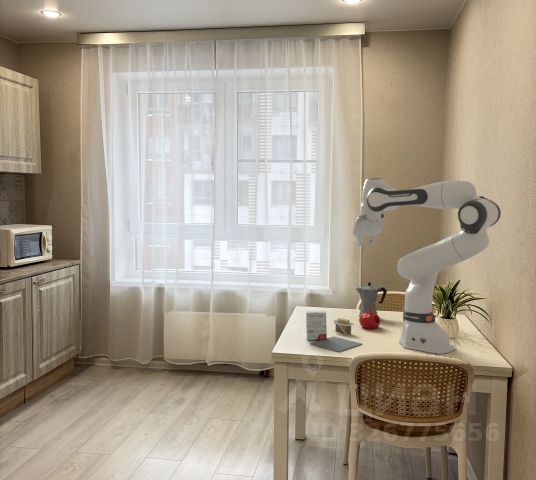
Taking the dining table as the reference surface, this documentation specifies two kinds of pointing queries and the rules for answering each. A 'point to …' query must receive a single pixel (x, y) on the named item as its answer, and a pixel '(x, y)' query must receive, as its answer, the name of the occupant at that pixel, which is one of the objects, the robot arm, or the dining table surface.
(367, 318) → the pomegranate
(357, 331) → the dining table surface
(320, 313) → the ink box
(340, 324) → the rectangular planter
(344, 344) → the mat
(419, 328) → the robot arm
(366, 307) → the coffeepot
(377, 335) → the dining table surface
